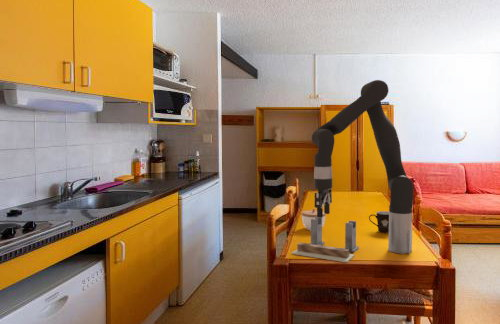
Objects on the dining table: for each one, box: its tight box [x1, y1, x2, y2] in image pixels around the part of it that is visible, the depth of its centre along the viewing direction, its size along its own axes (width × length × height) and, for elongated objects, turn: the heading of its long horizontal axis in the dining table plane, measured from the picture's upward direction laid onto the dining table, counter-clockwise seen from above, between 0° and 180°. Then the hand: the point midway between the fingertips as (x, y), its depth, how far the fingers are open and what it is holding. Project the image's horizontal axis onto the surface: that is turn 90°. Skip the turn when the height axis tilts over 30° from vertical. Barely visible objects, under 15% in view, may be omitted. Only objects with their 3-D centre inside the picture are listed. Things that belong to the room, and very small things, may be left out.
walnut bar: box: [296, 242, 350, 258], centre depth 176 cm, size 22×3×3 cm, turn 60°
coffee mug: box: [368, 210, 389, 234], centre depth 217 cm, size 12×9×10 cm
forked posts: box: [309, 217, 360, 254], centre depth 187 cm, size 21×8×12 cm, turn 60°
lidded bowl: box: [301, 208, 327, 232], centre depth 223 cm, size 13×13×11 cm
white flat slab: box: [291, 249, 355, 263], centre depth 176 cm, size 24×10×1 cm, turn 60°
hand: (323, 215), depth 175 cm, fingers open, 8 cm apart
